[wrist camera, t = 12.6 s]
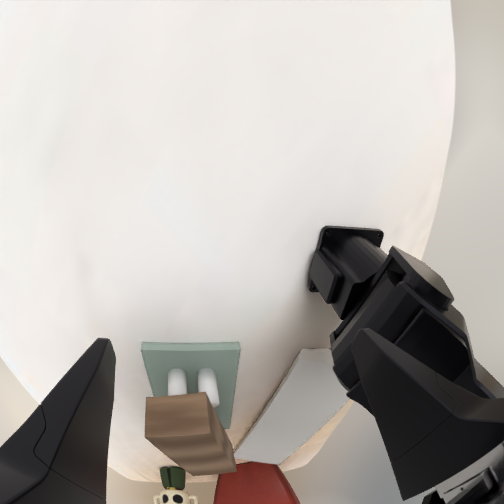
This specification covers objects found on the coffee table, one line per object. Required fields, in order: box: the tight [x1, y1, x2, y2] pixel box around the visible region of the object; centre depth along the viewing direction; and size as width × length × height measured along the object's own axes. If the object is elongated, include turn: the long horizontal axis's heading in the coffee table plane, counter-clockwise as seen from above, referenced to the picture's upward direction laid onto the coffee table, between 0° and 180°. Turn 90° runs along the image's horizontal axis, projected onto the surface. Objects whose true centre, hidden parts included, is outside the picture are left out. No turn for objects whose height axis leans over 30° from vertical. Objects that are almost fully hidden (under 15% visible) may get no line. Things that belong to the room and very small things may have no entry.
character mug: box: [153, 468, 199, 504], centre depth 42 cm, size 11×7×13 cm, turn 95°
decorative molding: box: [234, 348, 350, 464], centre depth 38 cm, size 34×5×10 cm
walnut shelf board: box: [145, 392, 237, 476], centre depth 25 cm, size 16×6×4 cm, turn 6°
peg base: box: [141, 342, 240, 429], centre depth 29 cm, size 10×20×5 cm, turn 174°
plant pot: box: [214, 462, 300, 504], centre depth 46 cm, size 19×19×17 cm
